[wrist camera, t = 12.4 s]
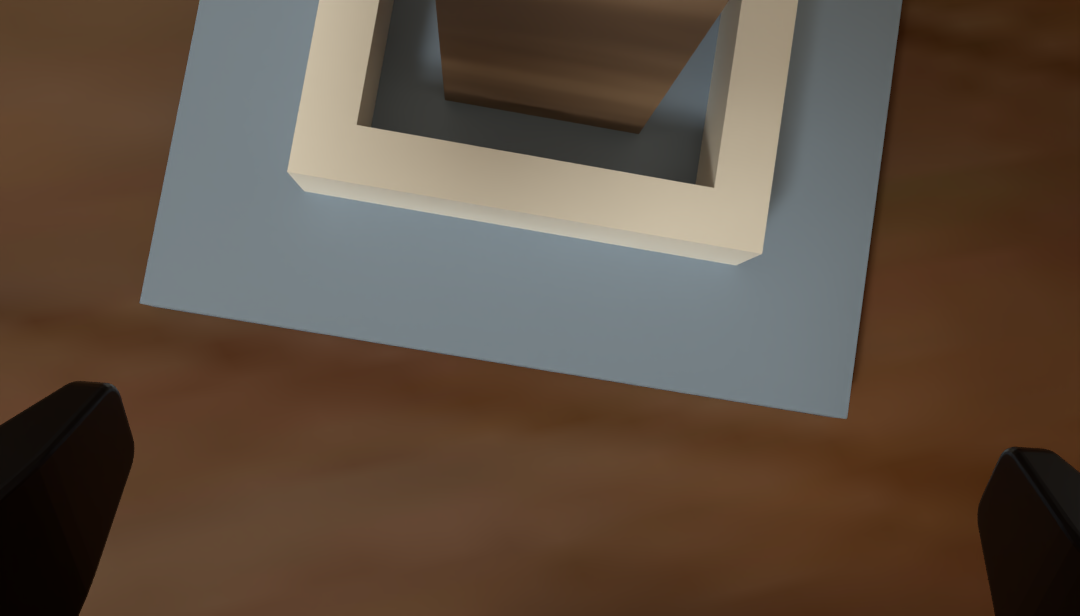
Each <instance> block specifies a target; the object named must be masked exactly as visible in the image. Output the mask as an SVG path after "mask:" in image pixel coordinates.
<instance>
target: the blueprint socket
mask: <svg viewBox="0 0 1080 616" xmlns="http://www.w3.org/2000/svg"><path fill="white" fill-rule="evenodd" d="M901 6H902V0H729V1H728V3H727V4H726V6H725V7H724V9H723V10H722V12H721V13H720V15H719V16H718V18H717V19H716V21H715V22H714V24H713V25H712V27H711V28H710V29H709V31H708V32H707V34H706V35H705V37H704V38H703V40H702V41H701V43H700V44H699V46H698V47H697V49H696V50H695V52H694V53H693V55H692V56H691V58H690V59H689V61H688V62H687V64H686V65H685V66H684V68H683V69H682V71H681V72H680V74H679V75H678V77H677V78H676V80H675V81H674V83H673V84H672V86H671V87H670V89H669V90H668V92H667V93H666V95H665V96H664V98H663V99H662V101H661V102H660V103H659V105H658V106H657V108H656V109H655V111H654V112H653V114H652V115H651V117H650V118H649V120H648V121H647V123H646V124H645V126H644V127H643V129H642V130H641V132H640V133H639V134H635V133H629V132H624V131H618V130H612V129H607V128H601V127H595V126H590V125H584V124H578V123H573V122H567V121H561V120H556V119H550V118H544V117H538V116H533V115H527V114H521V113H516V112H510V111H504V110H499V109H493V108H487V107H482V106H476V105H470V104H465V103H459V102H453V101H447V100H445V97H444V86H443V76H442V65H441V55H440V44H439V34H438V23H437V13H436V2H435V0H200V2H199V7H198V12H197V17H196V22H195V27H194V32H193V37H192V42H191V47H190V52H189V57H188V62H187V67H186V73H185V78H184V83H183V88H182V93H181V98H180V103H179V108H178V113H177V118H176V123H175V128H174V133H173V138H172V143H171V148H170V153H169V158H168V163H167V168H166V173H165V178H164V183H163V188H162V193H161V198H160V203H159V208H158V213H157V218H156V223H155V228H154V233H153V238H152V243H151V248H150V253H149V258H148V263H147V268H146V274H145V279H144V284H143V289H142V294H141V299H140V303H141V304H145V305H150V306H154V307H160V308H166V309H172V310H178V311H184V312H190V313H196V314H202V315H209V316H215V317H221V318H227V319H233V320H239V321H245V322H251V323H258V324H264V325H270V326H276V327H282V328H288V329H294V330H300V331H307V332H313V333H319V334H325V335H331V336H337V337H343V338H349V339H355V340H362V341H368V342H374V343H380V344H386V345H392V346H398V347H404V348H411V349H417V350H423V351H429V352H435V353H441V354H447V355H453V356H460V357H466V358H472V359H478V360H484V361H490V362H496V363H502V364H508V365H515V366H521V367H527V368H533V369H539V370H545V371H551V372H557V373H564V374H570V375H576V376H582V377H588V378H594V379H600V380H606V381H613V382H619V383H625V384H631V385H637V386H643V387H649V388H655V389H661V390H668V391H674V392H680V393H686V394H692V395H698V396H704V397H710V398H717V399H723V400H729V401H735V402H741V403H747V404H753V405H759V406H766V407H772V408H778V409H784V410H790V411H796V412H802V413H808V414H814V415H821V416H827V417H834V418H844V419H847V415H848V407H849V399H850V392H851V384H852V377H853V369H854V362H855V354H856V347H857V339H858V331H859V324H860V316H861V309H862V301H863V294H864V286H865V279H866V271H867V263H868V256H869V248H870V241H871V233H872V226H873V218H874V211H875V203H876V195H877V188H878V180H879V173H880V165H881V158H882V150H883V143H884V135H885V127H886V120H887V112H888V105H889V97H890V90H891V82H892V74H893V67H894V59H895V52H896V44H897V37H898V29H899V22H900V14H901Z"/></svg>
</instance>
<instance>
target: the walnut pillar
mask: <svg viewBox="0 0 1080 616" xmlns="http://www.w3.org/2000/svg"><path fill="white" fill-rule="evenodd" d="M728 1H729V0H435V2H436V13H437V23H438V34H439V44H440V55H441V65H442V76H443V86H444V97H445V100H447V101H453V102H459V103H465V104H470V105H476V106H482V107H487V108H493V109H499V110H504V111H510V112H516V113H521V114H527V115H533V116H538V117H544V118H550V119H556V120H561V121H567V122H573V123H578V124H584V125H590V126H595V127H601V128H607V129H612V130H618V131H624V132H629V133H635V134H639V133H640V132H641V130H642V129H643V127H644V126H645V124H646V123H647V121H648V120H649V118H650V117H651V115H652V114H653V112H654V111H655V109H656V108H657V106H658V105H659V103H660V102H661V101H662V99H663V98H664V96H665V95H666V93H667V92H668V90H669V89H670V87H671V86H672V84H673V83H674V81H675V80H676V78H677V77H678V75H679V74H680V72H681V71H682V69H683V68H684V66H685V65H686V64H687V62H688V61H689V59H690V58H691V56H692V55H693V53H694V52H695V50H696V49H697V47H698V46H699V44H700V43H701V41H702V40H703V38H704V37H705V35H706V34H707V32H708V31H709V29H710V28H711V27H712V25H713V24H714V22H715V21H716V19H717V18H718V16H719V15H720V13H721V12H722V10H723V9H724V7H725V6H726V4H727V3H728Z"/></svg>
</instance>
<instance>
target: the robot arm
mask: <svg viewBox="0 0 1080 616" xmlns="http://www.w3.org/2000/svg"><path fill="white" fill-rule="evenodd" d="M133 458H134V441H133V437H132V433H131V430H130V427H129V423H128V420H127V416H126V413H125V410H124V406H123V403H122V399H121V396H120V394H119V391H118V390H117V389H116V387H115V386H113V385H111V384H109V383H100V382H86V381H76V382H71V383H69V384H67V385H65V386H63V387H62V388H60V389H58V390H57V391H55V392H54V393H52V394H50V395H49V396H47V397H45V398H44V399H42V400H41V401H39V402H37V403H36V404H34V405H32V406H31V407H29V408H28V409H26V410H24V411H23V412H21V413H19V414H18V415H16V416H15V417H13V418H11V419H10V420H8V421H6V422H5V423H3V424H2V425H0V616H79V613H80V611H81V609H82V606H83V604H84V602H85V600H86V597H87V595H88V592H89V590H90V587H91V584H92V582H93V579H94V576H95V573H96V570H97V567H98V565H99V562H100V559H101V556H102V553H103V550H104V547H105V544H106V541H107V538H108V535H109V532H110V529H111V526H112V523H113V520H114V517H115V514H116V511H117V508H118V505H119V502H120V499H121V496H122V493H123V490H124V487H125V484H126V481H127V478H128V475H129V472H130V469H131V466H132V463H133ZM978 528H979V533H980V538H981V544H982V549H983V554H984V559H985V565H986V570H987V575H988V580H989V585H990V591H991V596H992V601H993V606H994V612H995V616H1080V472H1078V471H1077V470H1076V469H1075V468H1073V467H1072V466H1071V465H1070V464H1068V463H1067V462H1066V461H1065V460H1064V459H1062V458H1061V457H1060V456H1059V455H1057V454H1056V453H1054V452H1053V451H1050V450H1047V449H1040V448H1026V447H1011V448H1008V449H1006V450H1005V451H1004V452H1003V453H1002V454H1001V456H1000V458H999V460H998V462H997V464H996V466H995V469H994V471H993V473H992V475H991V478H990V480H989V482H988V484H987V486H986V489H985V491H984V493H983V495H982V498H981V500H980V503H979V507H978Z"/></svg>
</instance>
